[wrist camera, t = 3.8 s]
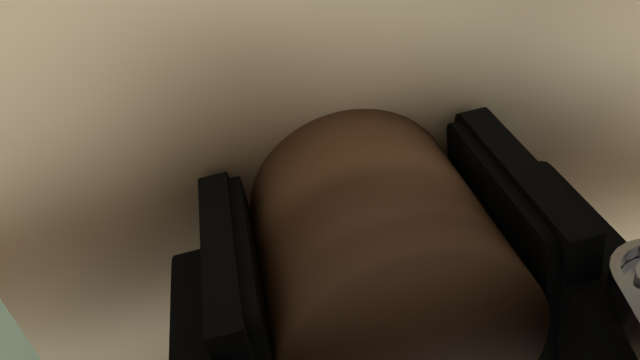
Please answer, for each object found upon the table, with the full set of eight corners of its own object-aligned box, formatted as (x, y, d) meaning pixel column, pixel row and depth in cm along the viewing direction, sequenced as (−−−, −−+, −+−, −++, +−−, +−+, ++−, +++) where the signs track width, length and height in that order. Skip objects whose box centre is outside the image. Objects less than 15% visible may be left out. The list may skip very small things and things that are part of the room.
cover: (619, 319, 17) (753, 481, 13) (128, 455, 16) (109, 673, 12) (727, -317, 9) (1161, -403, 5) (-237, -115, 8) (-642, -22, 4)
